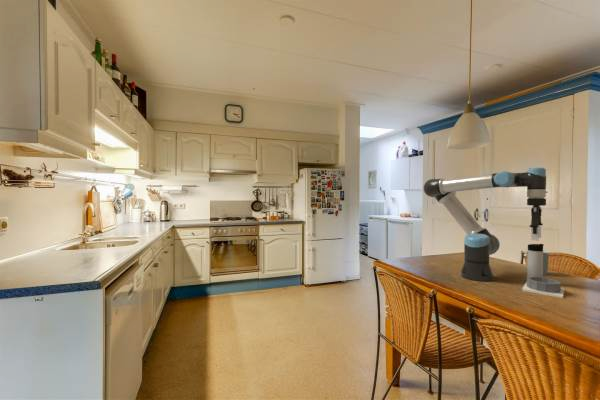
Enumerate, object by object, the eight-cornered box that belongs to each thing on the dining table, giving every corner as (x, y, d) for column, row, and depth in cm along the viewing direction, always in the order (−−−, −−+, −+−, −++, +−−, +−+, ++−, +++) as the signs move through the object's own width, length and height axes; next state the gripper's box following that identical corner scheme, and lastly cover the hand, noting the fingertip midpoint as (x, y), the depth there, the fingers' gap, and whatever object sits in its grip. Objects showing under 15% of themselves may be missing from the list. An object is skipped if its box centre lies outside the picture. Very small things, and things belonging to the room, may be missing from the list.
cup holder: (522, 290, 132) (522, 280, 132) (526, 284, 142) (526, 274, 142) (563, 298, 122) (563, 286, 122) (564, 290, 132) (564, 280, 132)
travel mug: (546, 284, 141) (547, 245, 141) (531, 283, 143) (532, 244, 142) (538, 281, 147) (539, 243, 147) (524, 280, 149) (524, 242, 149)
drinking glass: (546, 272, 164) (547, 252, 164) (550, 276, 155) (550, 255, 155) (524, 270, 169) (525, 250, 169) (527, 274, 161) (527, 253, 160)
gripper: (544, 197, 133) (543, 242, 133) (547, 197, 151) (547, 237, 151) (523, 197, 138) (523, 240, 138) (529, 197, 156) (529, 235, 156)
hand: (536, 239), depth 145 cm, fingers open, 13 cm apart
